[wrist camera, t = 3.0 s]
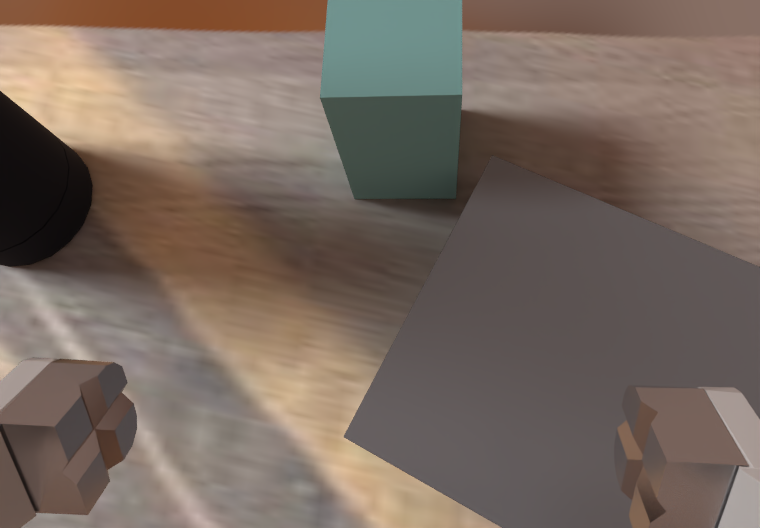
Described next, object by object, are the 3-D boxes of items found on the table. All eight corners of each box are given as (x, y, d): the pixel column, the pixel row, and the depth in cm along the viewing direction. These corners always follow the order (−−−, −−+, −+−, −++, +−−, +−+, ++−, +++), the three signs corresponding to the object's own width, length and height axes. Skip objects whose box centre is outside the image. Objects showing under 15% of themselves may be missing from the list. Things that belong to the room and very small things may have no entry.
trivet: (653, 608, 21) (687, 633, 18) (355, 438, 23) (343, 436, 20) (766, 308, 23) (811, 288, 20) (486, 187, 26) (492, 155, 23)
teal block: (455, 198, 26) (462, 94, 18) (354, 198, 26) (320, 97, 19) (456, 109, 27) (462, -23, 20) (359, 110, 28) (329, -17, 20)
